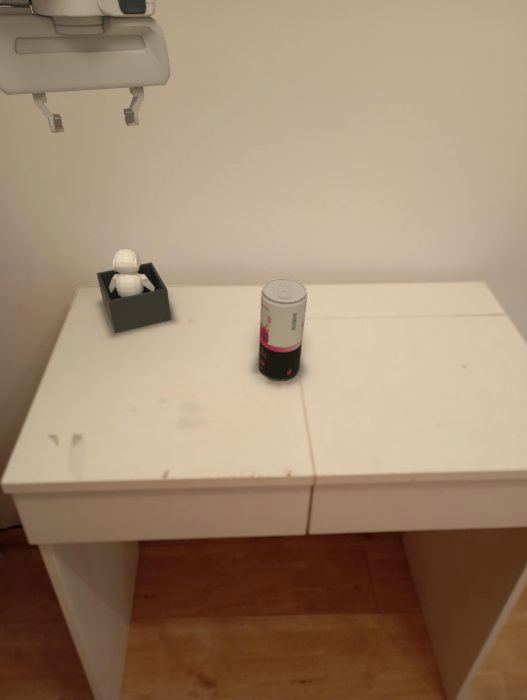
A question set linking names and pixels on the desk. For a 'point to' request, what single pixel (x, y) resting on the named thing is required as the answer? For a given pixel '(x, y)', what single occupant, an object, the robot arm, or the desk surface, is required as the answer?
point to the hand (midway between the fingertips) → (95, 127)
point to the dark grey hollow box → (135, 301)
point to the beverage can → (281, 327)
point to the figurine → (128, 274)
